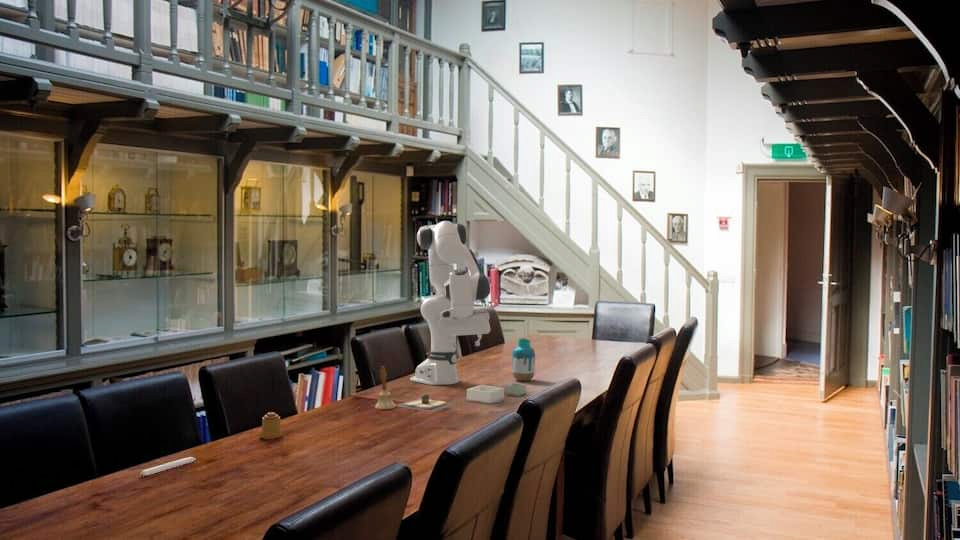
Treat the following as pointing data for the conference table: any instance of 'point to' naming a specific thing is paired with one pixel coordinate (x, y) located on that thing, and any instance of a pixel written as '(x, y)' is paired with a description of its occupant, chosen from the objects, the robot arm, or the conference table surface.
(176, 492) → the conference table surface
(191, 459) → the marker
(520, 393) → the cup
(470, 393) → the dish
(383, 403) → the hand bell
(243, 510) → the conference table surface
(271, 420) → the ornamental finial
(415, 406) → the lid
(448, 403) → the mat
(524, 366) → the vase
